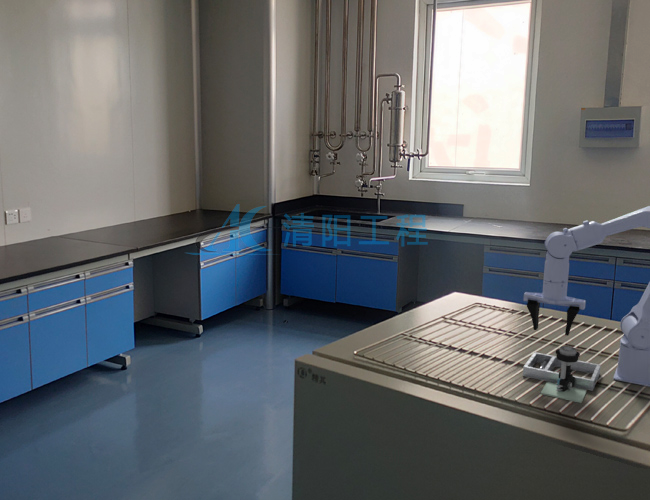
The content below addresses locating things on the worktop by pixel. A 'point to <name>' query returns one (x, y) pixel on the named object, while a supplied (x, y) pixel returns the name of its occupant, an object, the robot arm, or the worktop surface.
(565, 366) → the push button
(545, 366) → the rod
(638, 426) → the worktop surface
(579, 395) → the mat
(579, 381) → the grey divided frame
